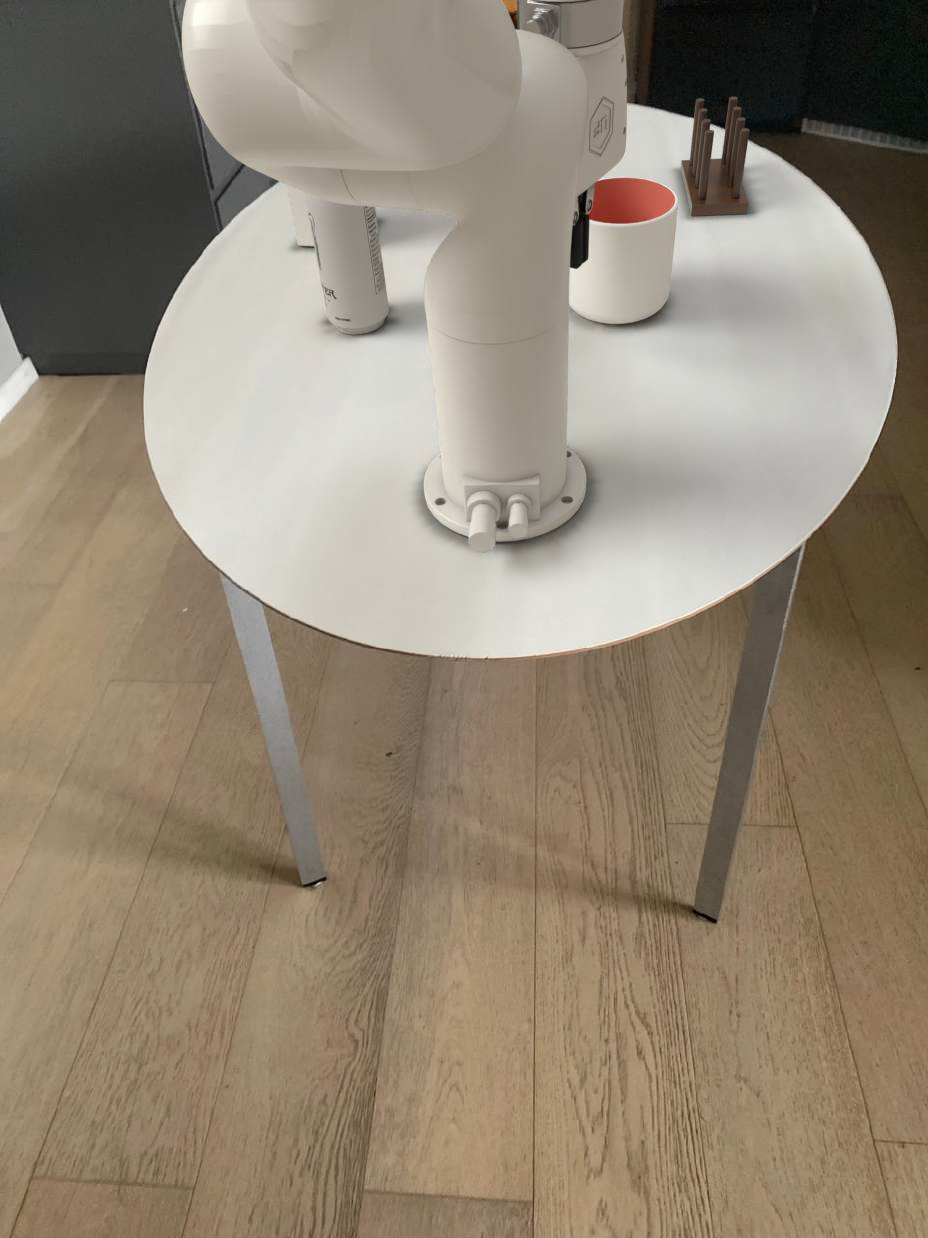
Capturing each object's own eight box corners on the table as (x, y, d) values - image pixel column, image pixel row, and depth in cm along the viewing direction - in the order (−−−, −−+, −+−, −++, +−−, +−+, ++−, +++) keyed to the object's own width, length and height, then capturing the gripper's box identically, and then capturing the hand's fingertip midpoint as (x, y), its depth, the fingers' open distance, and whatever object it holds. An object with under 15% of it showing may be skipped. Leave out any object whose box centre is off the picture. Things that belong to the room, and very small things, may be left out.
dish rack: (747, 213, 103) (759, 134, 97) (690, 215, 104) (699, 137, 98) (732, 168, 111) (742, 92, 105) (680, 170, 112) (687, 94, 106)
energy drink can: (329, 309, 95) (300, 154, 84) (388, 302, 95) (367, 146, 84) (329, 340, 91) (298, 182, 80) (391, 333, 91) (369, 174, 80)
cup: (548, 319, 91) (548, 216, 84) (585, 270, 97) (588, 170, 90) (649, 337, 88) (658, 232, 80) (681, 286, 94) (692, 183, 86)
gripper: (562, 57, 62) (561, 313, 76) (665, -9, 70) (647, 233, 83) (467, 43, 65) (482, 291, 79) (576, -19, 73) (572, 216, 87)
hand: (567, 260), depth 81 cm, fingers closed
